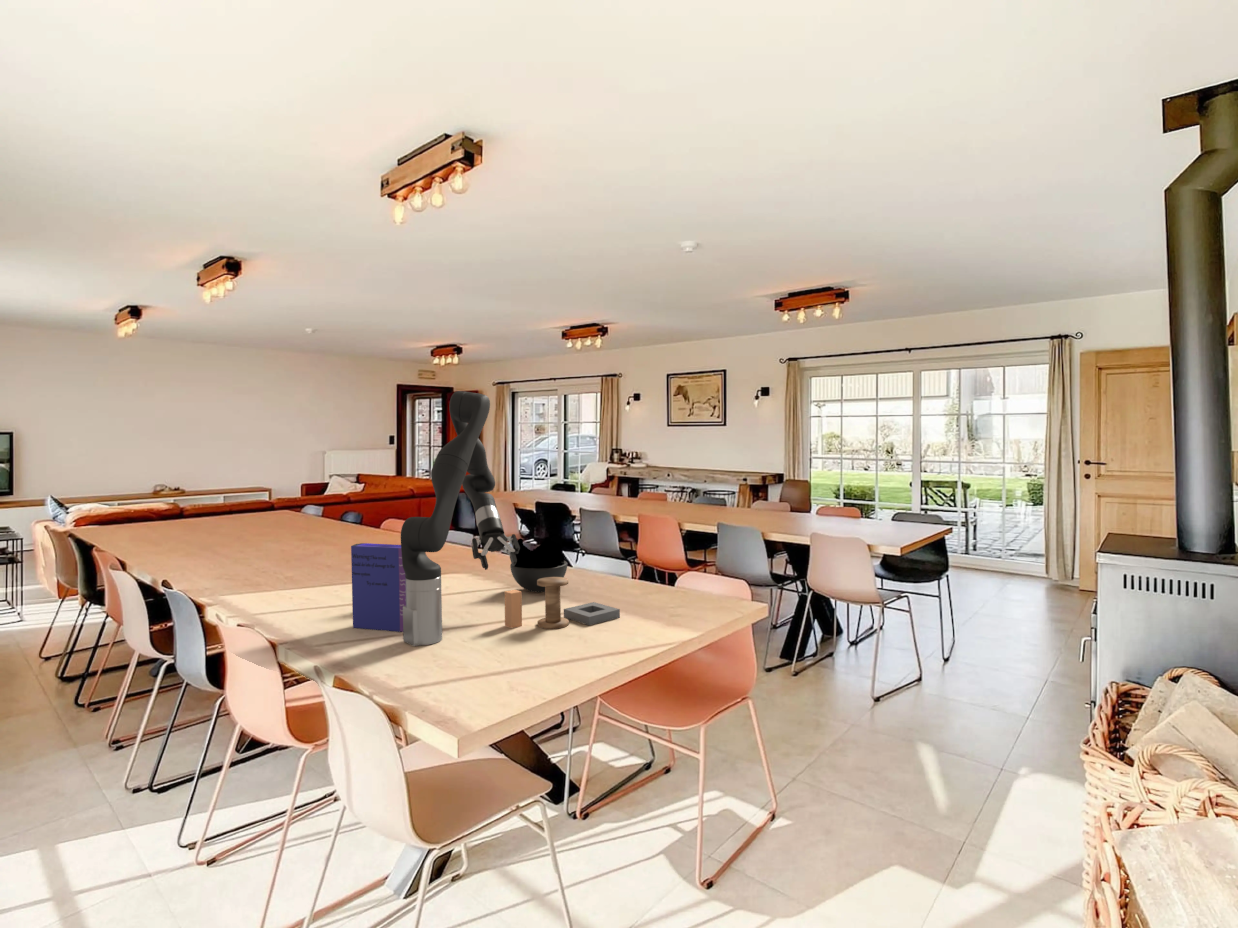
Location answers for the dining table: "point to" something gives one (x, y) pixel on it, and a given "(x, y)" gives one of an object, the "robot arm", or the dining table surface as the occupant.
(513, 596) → the orange rectangular block
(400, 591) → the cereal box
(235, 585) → the dining table surface
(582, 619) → the block with square hole
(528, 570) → the bowl of black rocks
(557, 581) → the bobbin
